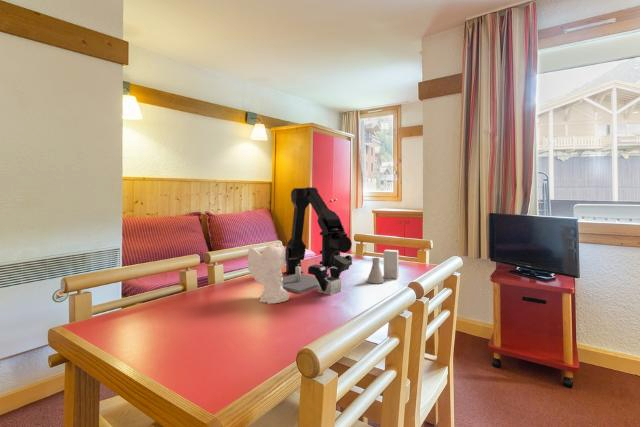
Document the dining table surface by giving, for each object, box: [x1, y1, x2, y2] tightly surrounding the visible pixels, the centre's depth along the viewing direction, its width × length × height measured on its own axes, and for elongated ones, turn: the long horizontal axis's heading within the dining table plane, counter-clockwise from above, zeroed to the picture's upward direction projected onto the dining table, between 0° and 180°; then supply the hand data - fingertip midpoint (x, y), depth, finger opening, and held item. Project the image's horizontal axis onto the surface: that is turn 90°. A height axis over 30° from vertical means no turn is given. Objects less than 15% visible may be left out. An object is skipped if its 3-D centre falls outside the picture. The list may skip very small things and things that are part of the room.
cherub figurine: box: [246, 241, 290, 305], centre depth 118 cm, size 13×12×20 cm
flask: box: [366, 257, 385, 284], centre depth 141 cm, size 7×7×10 cm
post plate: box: [282, 266, 318, 294], centre depth 137 cm, size 18×18×7 cm
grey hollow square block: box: [316, 275, 342, 296], centre depth 127 cm, size 6×6×5 cm
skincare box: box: [383, 249, 400, 280], centre depth 147 cm, size 6×4×12 cm
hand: (329, 288), depth 127 cm, fingers closed on grey hollow square block, 6 cm apart
